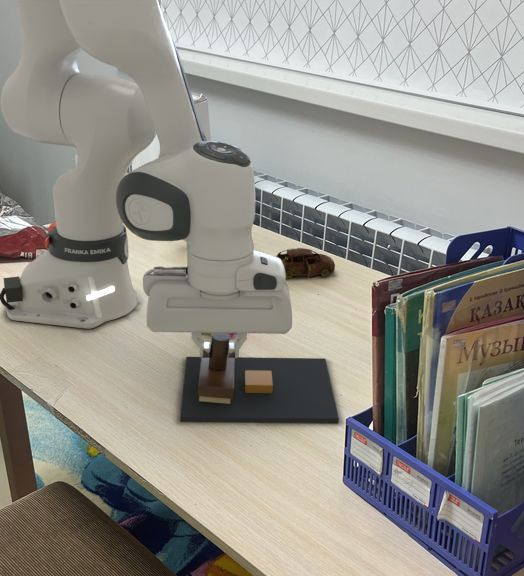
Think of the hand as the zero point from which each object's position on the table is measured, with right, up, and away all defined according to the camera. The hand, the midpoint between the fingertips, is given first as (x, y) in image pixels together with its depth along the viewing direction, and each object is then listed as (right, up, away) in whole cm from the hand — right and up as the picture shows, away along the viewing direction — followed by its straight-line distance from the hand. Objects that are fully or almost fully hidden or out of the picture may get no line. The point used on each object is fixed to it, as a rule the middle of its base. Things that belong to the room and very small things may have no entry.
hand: (219, 356), depth 100 cm
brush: (-1, -4, +2) cm, 5 cm away
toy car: (+15, +16, +40) cm, 46 cm away
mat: (+6, -5, +3) cm, 8 cm away
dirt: (+6, -4, +3) cm, 8 cm away
